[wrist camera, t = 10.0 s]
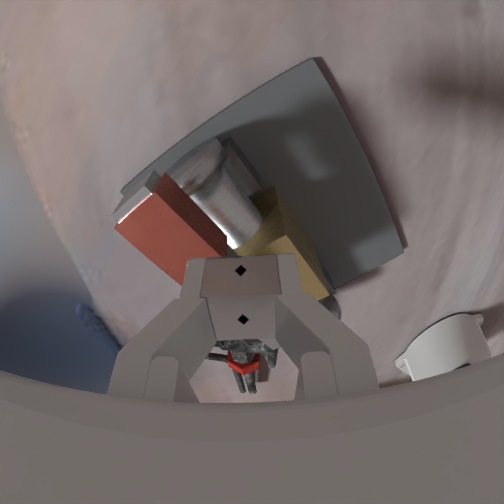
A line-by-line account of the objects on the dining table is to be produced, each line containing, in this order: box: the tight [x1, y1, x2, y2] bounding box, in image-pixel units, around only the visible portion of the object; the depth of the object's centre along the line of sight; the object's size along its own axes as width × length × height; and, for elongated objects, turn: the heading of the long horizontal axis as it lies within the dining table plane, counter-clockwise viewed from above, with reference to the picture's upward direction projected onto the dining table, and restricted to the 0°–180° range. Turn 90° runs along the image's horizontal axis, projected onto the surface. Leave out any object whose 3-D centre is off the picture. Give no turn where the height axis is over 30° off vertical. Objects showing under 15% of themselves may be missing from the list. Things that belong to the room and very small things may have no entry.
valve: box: [205, 339, 278, 394], centre depth 38 cm, size 6×26×15 cm
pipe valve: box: [166, 137, 341, 320], centre depth 24 cm, size 20×7×8 cm, turn 34°
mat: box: [120, 58, 404, 289], centre depth 27 cm, size 22×19×1 cm
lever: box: [111, 170, 281, 350], centre depth 17 cm, size 14×3×3 cm, turn 36°
